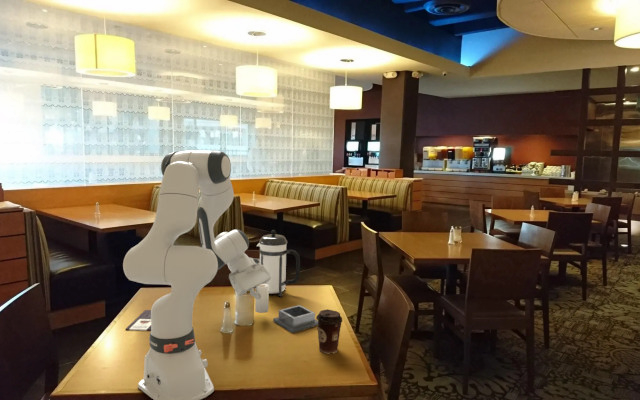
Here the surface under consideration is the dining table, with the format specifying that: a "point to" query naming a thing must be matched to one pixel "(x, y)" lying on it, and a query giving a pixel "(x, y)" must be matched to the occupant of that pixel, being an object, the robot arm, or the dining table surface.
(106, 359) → the dining table surface
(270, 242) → the coffee press
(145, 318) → the chocolate bar
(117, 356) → the dining table surface
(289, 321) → the roll stand
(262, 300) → the paper roll
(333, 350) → the coffee cup
